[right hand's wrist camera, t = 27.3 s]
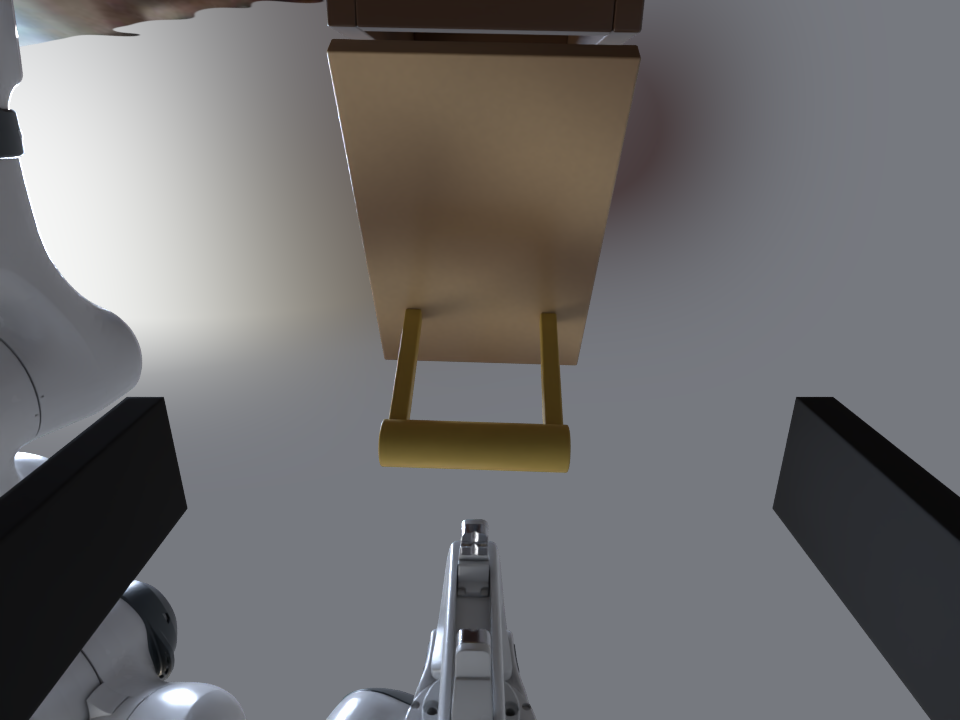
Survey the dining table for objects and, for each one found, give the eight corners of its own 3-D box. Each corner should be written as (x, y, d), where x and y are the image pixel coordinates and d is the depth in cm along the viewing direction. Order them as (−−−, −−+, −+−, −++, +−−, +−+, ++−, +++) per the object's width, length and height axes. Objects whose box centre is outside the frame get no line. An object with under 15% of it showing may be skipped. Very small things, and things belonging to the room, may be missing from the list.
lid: (575, 352, 30) (588, 510, 25) (386, 346, 30) (360, 502, 25) (638, 44, 18) (686, 219, 13) (331, 37, 19) (260, 208, 13)
